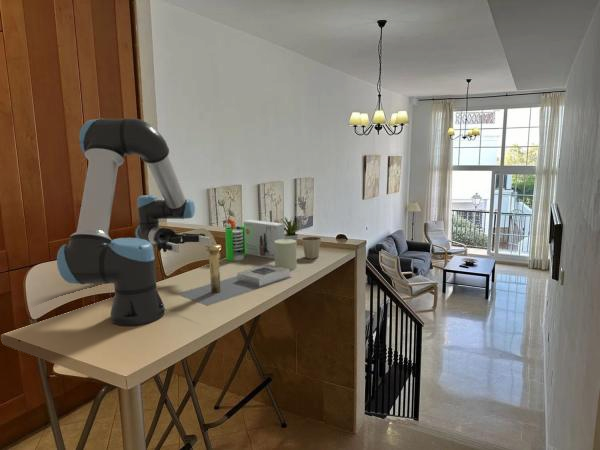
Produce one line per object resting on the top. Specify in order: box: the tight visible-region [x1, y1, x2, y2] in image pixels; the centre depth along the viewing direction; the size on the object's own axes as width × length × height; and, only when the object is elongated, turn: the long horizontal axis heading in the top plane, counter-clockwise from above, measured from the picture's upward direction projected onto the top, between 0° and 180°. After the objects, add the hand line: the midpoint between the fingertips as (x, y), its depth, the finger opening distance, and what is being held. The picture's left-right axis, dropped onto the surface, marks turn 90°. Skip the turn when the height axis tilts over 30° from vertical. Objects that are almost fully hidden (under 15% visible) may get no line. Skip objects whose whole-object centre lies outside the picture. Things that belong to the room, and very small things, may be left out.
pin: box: [205, 243, 222, 293], centre depth 150 cm, size 5×5×16 cm
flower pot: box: [300, 236, 322, 259], centre depth 198 cm, size 9×9×9 cm
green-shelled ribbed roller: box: [224, 218, 246, 262], centre depth 198 cm, size 9×8×18 cm
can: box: [274, 238, 298, 271], centre depth 180 cm, size 9×9×12 cm
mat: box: [176, 275, 293, 306], centre depth 158 cm, size 39×18×1 cm, turn 138°
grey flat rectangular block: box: [236, 263, 291, 287], centre depth 165 cm, size 16×12×3 cm
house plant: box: [279, 215, 303, 247], centre depth 219 cm, size 14×14×16 cm
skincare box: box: [243, 219, 285, 260], centre depth 202 cm, size 21×5×16 cm, turn 53°
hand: (194, 245), depth 156 cm, fingers open, 13 cm apart
